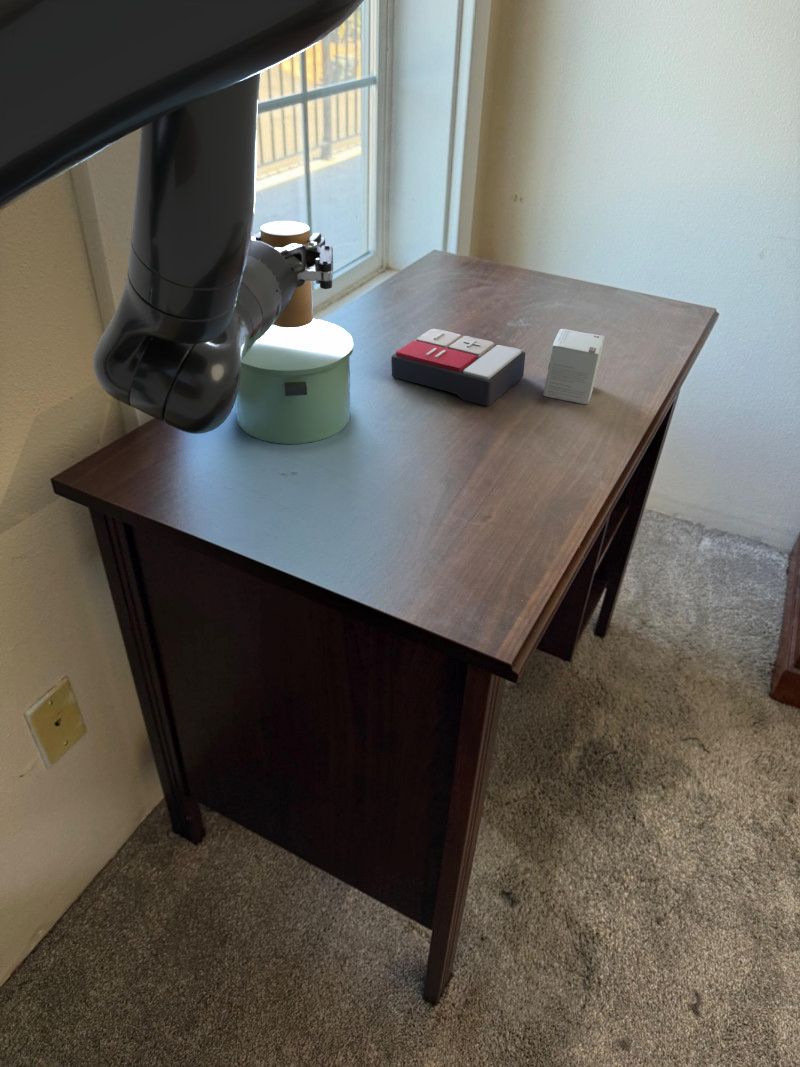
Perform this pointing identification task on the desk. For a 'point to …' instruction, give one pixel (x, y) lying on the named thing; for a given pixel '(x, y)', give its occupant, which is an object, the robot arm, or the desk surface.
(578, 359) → the white cardboard box
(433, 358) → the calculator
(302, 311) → the tall wooden cylinder
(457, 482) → the desk surface
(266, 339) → the pot
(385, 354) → the desk surface
